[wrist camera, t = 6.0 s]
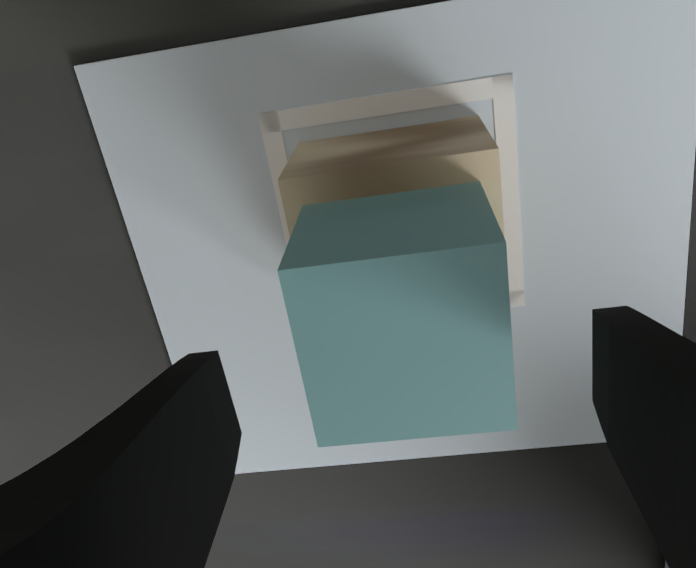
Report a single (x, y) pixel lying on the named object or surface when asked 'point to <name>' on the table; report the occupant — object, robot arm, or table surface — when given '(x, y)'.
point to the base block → (392, 164)
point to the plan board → (400, 111)
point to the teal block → (402, 316)
